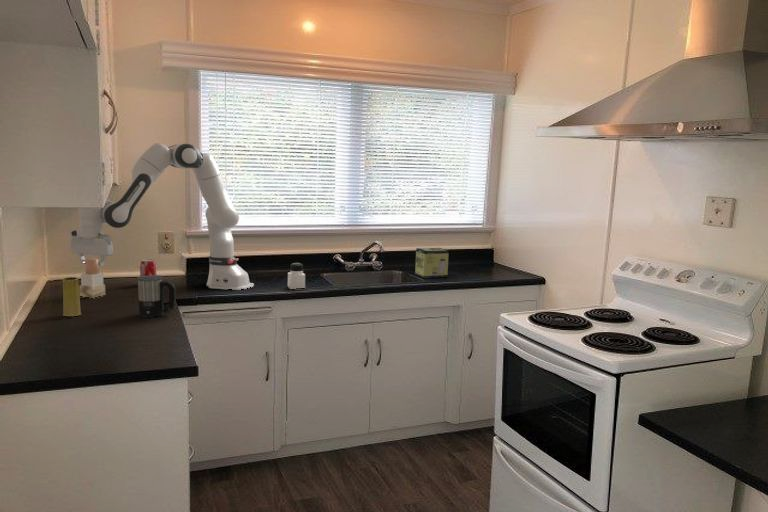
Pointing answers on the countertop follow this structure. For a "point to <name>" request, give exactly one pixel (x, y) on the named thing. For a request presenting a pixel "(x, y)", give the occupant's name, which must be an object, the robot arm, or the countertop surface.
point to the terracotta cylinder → (92, 266)
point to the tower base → (92, 291)
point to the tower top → (91, 279)
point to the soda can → (147, 267)
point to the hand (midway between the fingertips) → (92, 264)
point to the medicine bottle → (296, 276)
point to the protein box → (431, 262)
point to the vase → (71, 297)
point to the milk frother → (154, 295)
